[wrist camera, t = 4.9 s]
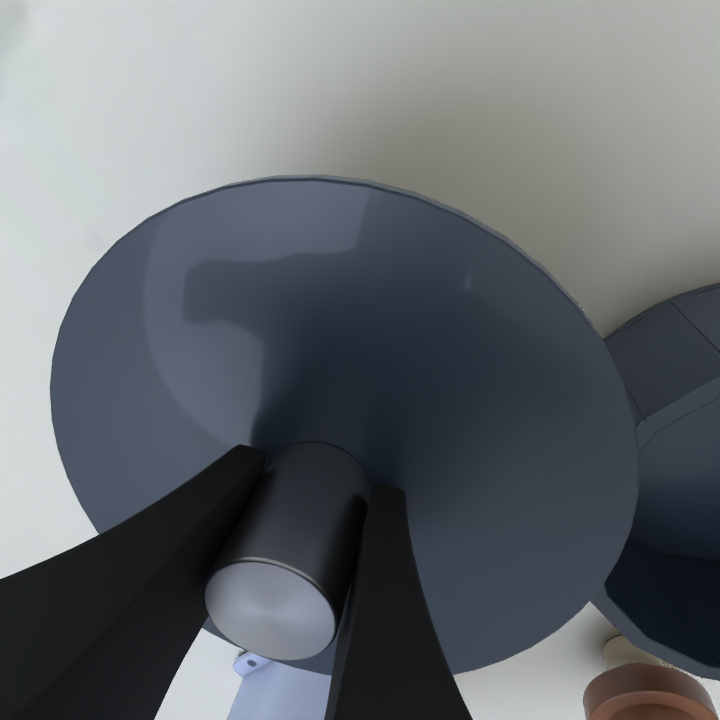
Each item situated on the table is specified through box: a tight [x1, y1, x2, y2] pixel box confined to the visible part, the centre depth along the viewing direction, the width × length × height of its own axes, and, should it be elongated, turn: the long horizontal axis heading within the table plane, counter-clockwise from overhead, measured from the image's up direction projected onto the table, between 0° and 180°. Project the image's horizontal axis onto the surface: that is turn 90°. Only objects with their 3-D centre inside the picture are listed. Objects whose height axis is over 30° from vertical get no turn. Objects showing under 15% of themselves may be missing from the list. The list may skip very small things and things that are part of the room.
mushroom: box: [583, 635, 719, 720], centre depth 23 cm, size 5×5×5 cm
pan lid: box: [50, 175, 640, 676], centre depth 11 cm, size 13×13×4 cm
